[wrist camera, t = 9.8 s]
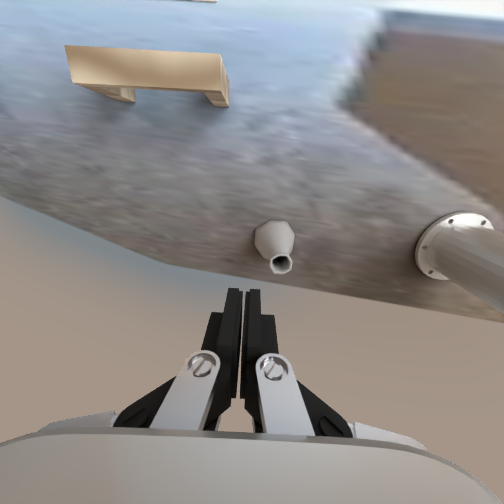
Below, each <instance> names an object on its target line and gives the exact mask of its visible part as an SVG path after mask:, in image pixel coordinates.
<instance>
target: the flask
mask: <svg viewBox="0 0 504 504" xmlns="http://www.w3.org/2000/svg"><path fill="white" fill-rule="evenodd" d="M294 237H295V234H294V233H293V231H292V229H291V228H290V226H289V224H288V223H287V221H275V220H269V221H268V222H266V223H264V224H263V225H261V226H260V227H258V228H256V229H255V242H254V245H255V246H256V248H257V249H258V251H259V252H260V254H261V255H262V256H263V257H264V258H266V259H268V260H269V261H270V265H269V267H270V268H271V270H272V271H273V273H274V274H285V273H287V272H288V271H290V270H291V268H292V260H291V258H290V257H289V255H290V253H291V252H292V250H293V244H294Z"/></svg>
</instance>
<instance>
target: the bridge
mask: <svg viewBox="0 0 504 504" xmlns="http://www.w3.org/2000/svg"><path fill="white" fill-rule="evenodd" d="M65 50H66V54H67V59H68V64H69V68H70V73H71V77H72V82H73V83H75V84H77V85H80V86H82V87H85V88H88V89H90V90H93V91H95V92H98V93H100V94H103V95H106V96H108V97H111V98H113V99H116V100H119V101H121V102H136V99H135V91H134V89H150V90H169V91H188V92H203V93H204V94H205V95H206V96H207V98H208V99H209V100H210V101H211V103H212V104H213V105H214V106H215V107H229V80H228V77H227V74H226V71H225V67H224V64H223V61H222V58H221V55H220V54H211V53H193V52H176V51H158V50H140V49H123V48H105V47H87V46H70V45H65Z"/></svg>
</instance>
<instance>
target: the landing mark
mask: <svg viewBox="0 0 504 504" xmlns="http://www.w3.org/2000/svg"><path fill="white" fill-rule="evenodd" d="M193 1H209V2H217V0H193Z"/></svg>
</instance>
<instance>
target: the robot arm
mask: <svg viewBox="0 0 504 504" xmlns="http://www.w3.org/2000/svg"><path fill="white" fill-rule="evenodd" d="M415 261H416V264H417V266H418V268H419V269H420V270H421V271H422V272H423V273H424V274H426V275H427V276H429V277H431V278H433V279H438V280H449V279H450V280H451V281H453V282H455V283H456V284H458V285H459V286H461V287H462V288H464V289H466V290H467V291H469V292H470V293H472V294H473V295H475V296H476V297H478V298H480V299H481V300H483V301H484V302H486V303H487V304H489V305H490V306H492V307H494V308H495V309H497V310H498V311H500V312H501V313H503V314H504V233H502V232H499V231H496V230H494V229H493V226H492V224H491V223H490V221H489V220H488V219H487V218H485V217H484V216H482V215H479V214H476V213H472V212H456V213H453V214H449V215H447V216H445V217H442V218H440V219H439V220H437V221H436V222H434V223H433V224H432V225H431V226H430V227H429V228H427V230H426V231H425V232H424V233H423V234H422V236H421V238H420V239H419V241H418V243H417V246H416V250H415ZM242 297H243V291H239V288H229V289H228V293H227V298H226V303H225V307H224V312H223V313H218V312H212V313H211V316H210V319H209V323H208V326H207V330H206V334H205V337H204V341H203V344H202V348H201V351H197V352H195V353H192V354H191V355H190V356H188V357H187V359H186V360H185V361H184V363H183V365H182V367H181V369H180V371H179V373H178V374H177V376H175V377H174V378H172V379H171V380H169V381H168V382H166V383H164V384H163V385H161V386H160V387H158V388H156V389H155V390H153V391H152V392H150V393H149V394H147V395H145V396H144V397H142V398H141V399H139V400H138V401H136V402H134V403H133V404H132V405H130V406H128V407H127V408H126V409H125V410H123V411H122V412H121V413H117V414H116V413H115V411H110V412H105V413H100V414H94V415H88V416H83V417H77V418H72V419H66V420H61V421H57V422H53V423H50V424H48V425H46V426H45V427H43V428H41V429H40V430H39V431H37V432H35V433H31V434H26V435H23V436H20V437H17V438H14V439H11V440H8V441H5V442H3V443H0V504H503V503H502V502H501V501H500V500H499V499H498V497H496V496H495V494H494V493H493V492H492V491H491V490H490V489H489V488H488V487H487V486H486V485H484V484H483V483H482V482H481V481H480V480H479V479H477V478H476V477H475V476H473V475H472V474H471V473H469V472H468V471H466V470H464V469H462V468H461V467H459V466H457V465H456V464H453V463H452V462H450V461H448V460H446V459H444V458H442V457H439V456H437V455H434V454H432V453H430V452H429V451H428V450H427V448H426V447H425V446H423V445H422V444H421V443H420V442H418V441H417V440H415V439H412V438H410V437H407V436H403V435H400V434H397V433H393V432H389V431H386V430H382V429H379V428H375V427H372V426H368V425H365V424H361V423H358V422H354V424H349V423H347V422H346V421H345V420H344V419H343V418H342V417H341V416H340V415H339V414H338V413H337V412H335V411H334V410H333V409H332V408H331V407H329V406H328V405H327V404H326V403H324V402H323V401H322V400H321V399H320V398H318V397H317V396H316V395H315V394H313V393H312V392H311V391H310V390H308V389H307V388H306V387H305V386H304V385H302V384H301V383H300V382H299V381H297V380H296V378H295V374H294V372H293V369H292V366H291V364H290V362H289V361H288V360H287V359H286V358H285V357H283V356H281V355H279V353H278V344H277V335H276V326H275V317H274V315H262V314H261V301H260V289H259V290H258V289H250V292H246V296H245V297H246V298H245V310H244V323H243V337H242V356H241V384H240V399H241V398H243V399H245V409H246V410H247V411H248V412H249V414H250V415H251V416H252V425H253V433H246V432H224V431H218V427H219V424H220V419H221V414H222V413H223V412H224V411H225V410H227V409H228V408H229V407H230V406H231V398H236V392H237V380H238V367H239V356H240V344H241V327H242Z"/></svg>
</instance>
